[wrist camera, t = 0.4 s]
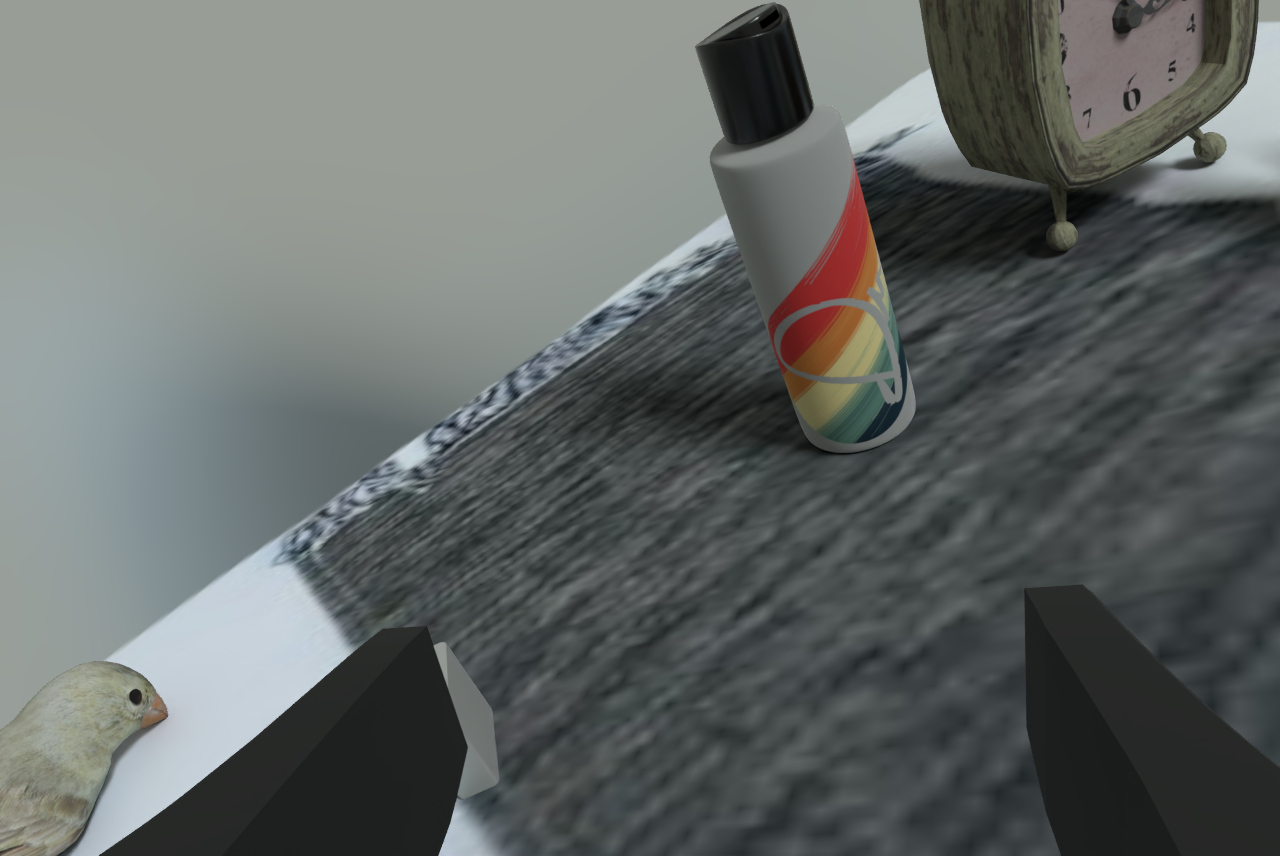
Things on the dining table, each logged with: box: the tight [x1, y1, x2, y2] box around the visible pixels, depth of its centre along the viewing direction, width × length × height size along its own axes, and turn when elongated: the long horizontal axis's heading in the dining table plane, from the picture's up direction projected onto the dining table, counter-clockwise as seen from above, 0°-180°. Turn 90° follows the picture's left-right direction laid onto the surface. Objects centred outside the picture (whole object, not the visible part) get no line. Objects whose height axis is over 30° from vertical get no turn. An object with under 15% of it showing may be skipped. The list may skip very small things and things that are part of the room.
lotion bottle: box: [695, 2, 916, 453], centre depth 43 cm, size 6×6×20 cm
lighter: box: [434, 642, 499, 800], centre depth 37 cm, size 7×2×8 cm, turn 12°
